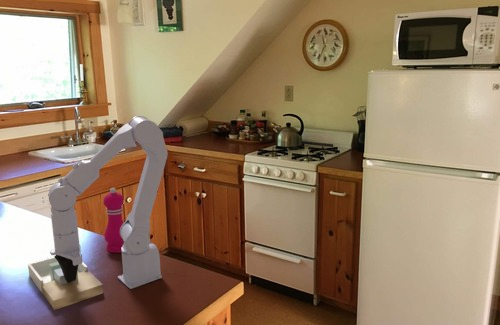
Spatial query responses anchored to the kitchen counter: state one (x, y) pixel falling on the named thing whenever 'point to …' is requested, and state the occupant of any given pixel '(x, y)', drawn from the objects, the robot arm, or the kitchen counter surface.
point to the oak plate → (72, 290)
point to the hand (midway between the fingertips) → (70, 280)
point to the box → (46, 271)
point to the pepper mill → (114, 220)
